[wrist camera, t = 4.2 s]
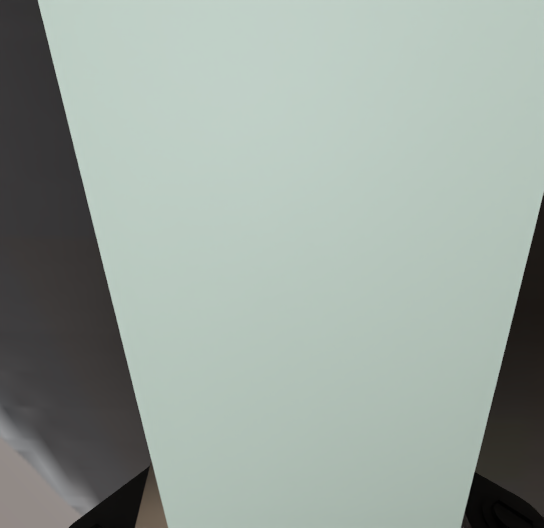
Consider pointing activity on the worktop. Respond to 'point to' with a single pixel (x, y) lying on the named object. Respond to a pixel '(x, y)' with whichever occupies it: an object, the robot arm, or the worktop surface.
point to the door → (309, 240)
